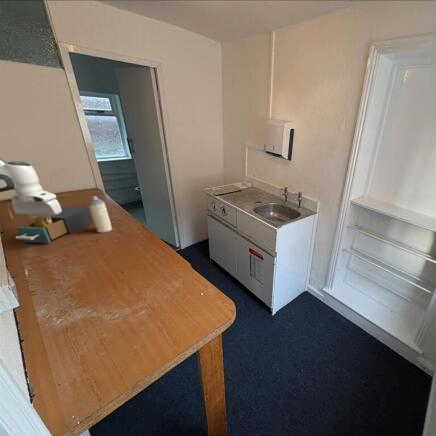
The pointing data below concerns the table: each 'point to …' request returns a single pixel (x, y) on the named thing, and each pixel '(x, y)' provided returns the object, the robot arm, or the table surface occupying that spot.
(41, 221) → the block
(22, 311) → the table surface
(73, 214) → the cabinet
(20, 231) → the drawer
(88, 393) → the table surface
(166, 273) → the table surface
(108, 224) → the aerosol can
